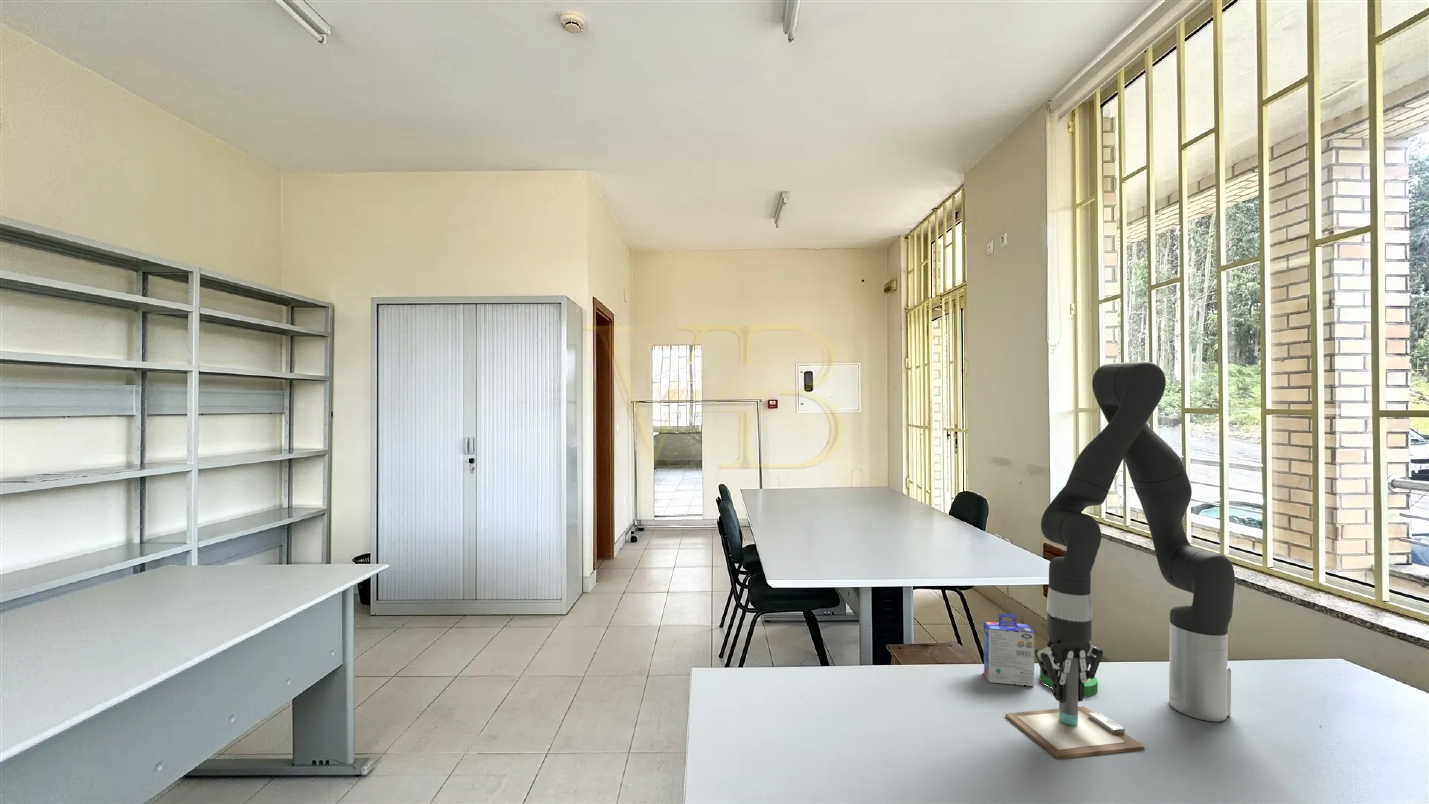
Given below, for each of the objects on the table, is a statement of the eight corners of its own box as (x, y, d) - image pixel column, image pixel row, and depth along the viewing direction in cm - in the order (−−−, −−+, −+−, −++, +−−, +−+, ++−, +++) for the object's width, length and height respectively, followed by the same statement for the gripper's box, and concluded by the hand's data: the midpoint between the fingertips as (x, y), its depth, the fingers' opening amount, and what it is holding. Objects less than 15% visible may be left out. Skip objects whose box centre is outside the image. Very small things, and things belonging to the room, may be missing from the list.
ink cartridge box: (1027, 676, 135) (1028, 613, 134) (1036, 687, 129) (1036, 622, 129) (982, 671, 137) (982, 610, 136) (988, 683, 131) (988, 619, 131)
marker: (1069, 716, 116) (1069, 651, 116) (1082, 725, 113) (1082, 658, 113) (1055, 717, 115) (1055, 652, 115) (1067, 726, 112) (1068, 659, 112)
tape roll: (1093, 679, 134) (1093, 668, 134) (1101, 702, 124) (1102, 690, 124) (1038, 670, 138) (1038, 659, 138) (1042, 691, 128) (1042, 679, 128)
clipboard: (1083, 709, 120) (1083, 701, 120) (1144, 749, 106) (1144, 740, 106) (1005, 716, 117) (1005, 708, 117) (1057, 759, 103) (1057, 750, 103)
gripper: (1085, 603, 119) (1084, 688, 119) (1023, 607, 116) (1022, 693, 116) (1116, 617, 111) (1115, 707, 111) (1051, 622, 109) (1050, 713, 109)
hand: (1068, 699), depth 114 cm, fingers closed on marker, 3 cm apart
